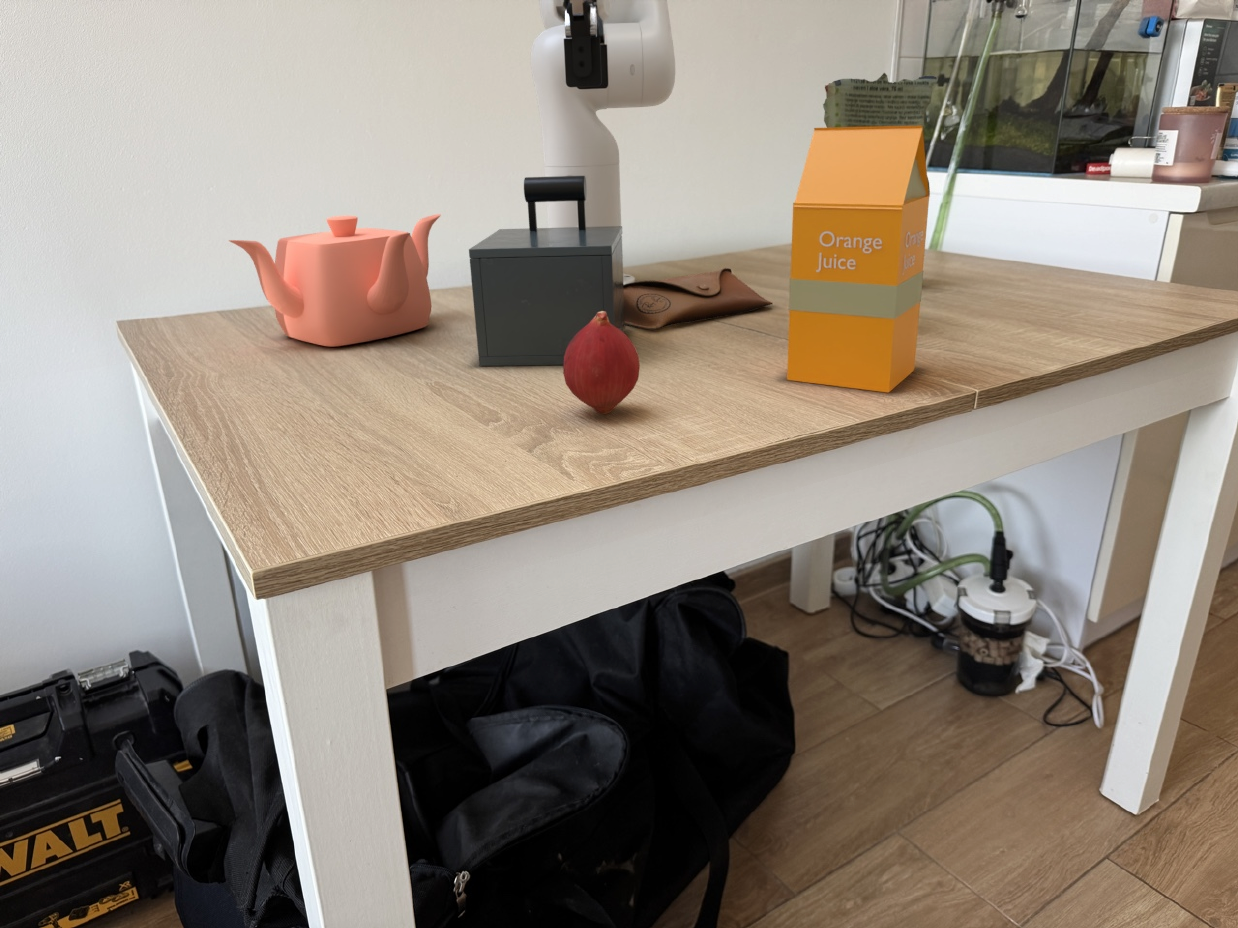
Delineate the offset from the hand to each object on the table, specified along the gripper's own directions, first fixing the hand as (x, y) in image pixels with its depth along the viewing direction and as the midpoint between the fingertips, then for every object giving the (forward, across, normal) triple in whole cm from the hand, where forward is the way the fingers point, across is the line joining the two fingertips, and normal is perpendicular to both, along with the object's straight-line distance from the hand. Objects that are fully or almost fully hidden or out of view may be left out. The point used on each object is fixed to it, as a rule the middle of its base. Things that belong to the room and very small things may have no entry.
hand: (588, 87), depth 87 cm
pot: (+24, -3, -26) cm, 36 cm away
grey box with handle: (+14, +5, -4) cm, 15 cm away
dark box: (+24, +5, -4) cm, 25 cm away
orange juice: (+24, +17, +23) cm, 37 cm away
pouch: (+24, -24, +33) cm, 47 cm away
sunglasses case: (+24, -9, +10) cm, 28 cm away
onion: (+24, +27, +2) cm, 36 cm away
